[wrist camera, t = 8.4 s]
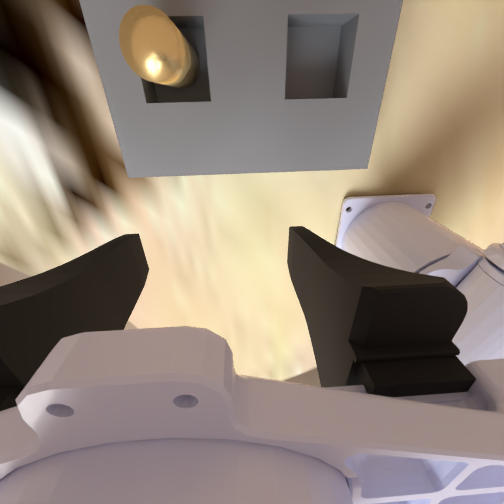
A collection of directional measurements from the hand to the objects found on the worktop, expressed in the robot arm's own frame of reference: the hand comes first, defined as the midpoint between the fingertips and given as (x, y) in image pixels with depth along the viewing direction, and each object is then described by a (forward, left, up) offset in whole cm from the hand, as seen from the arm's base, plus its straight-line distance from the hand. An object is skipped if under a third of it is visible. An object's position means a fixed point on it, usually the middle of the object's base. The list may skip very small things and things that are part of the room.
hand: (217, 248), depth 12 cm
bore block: (+8, -2, -9) cm, 13 cm away
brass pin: (+8, +2, -9) cm, 12 cm away
